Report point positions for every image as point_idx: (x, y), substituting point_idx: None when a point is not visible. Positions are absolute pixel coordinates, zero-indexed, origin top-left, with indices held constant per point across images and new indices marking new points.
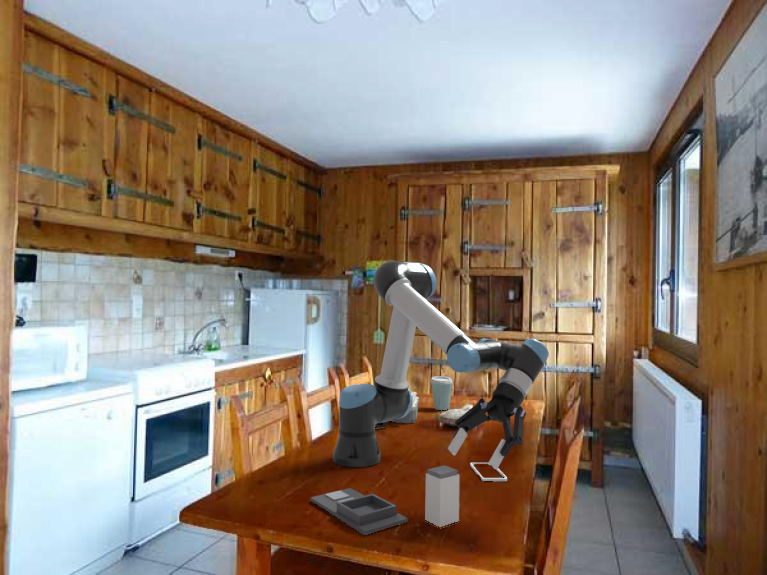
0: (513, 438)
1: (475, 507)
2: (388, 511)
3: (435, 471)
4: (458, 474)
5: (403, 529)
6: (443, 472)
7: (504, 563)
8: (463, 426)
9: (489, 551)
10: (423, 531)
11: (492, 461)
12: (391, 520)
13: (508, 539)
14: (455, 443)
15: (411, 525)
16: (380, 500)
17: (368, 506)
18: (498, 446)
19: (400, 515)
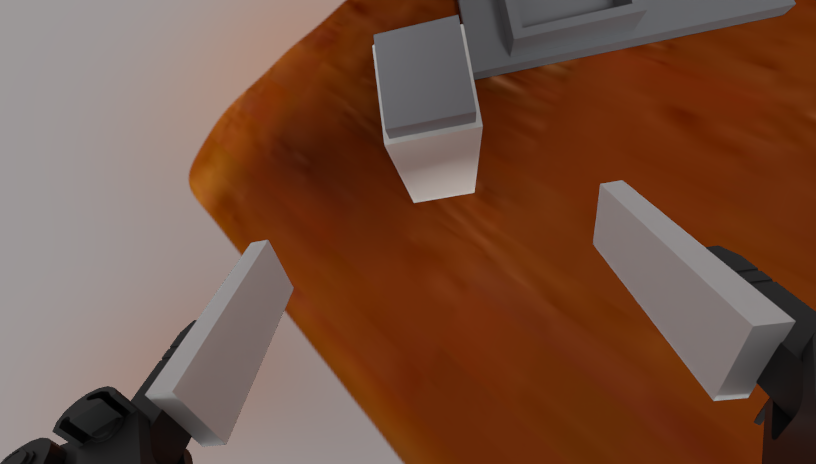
0: (46, 448)
1: (482, 317)
2: (507, 20)
3: (416, 32)
4: (387, 142)
5: None
6: (389, 57)
7: (206, 170)
8: (807, 367)
9: (257, 175)
10: None
11: (247, 251)
12: (480, 30)
13: None
14: (630, 233)
15: None
16: (583, 16)
17: (600, 8)
18: (206, 324)
19: (499, 63)
